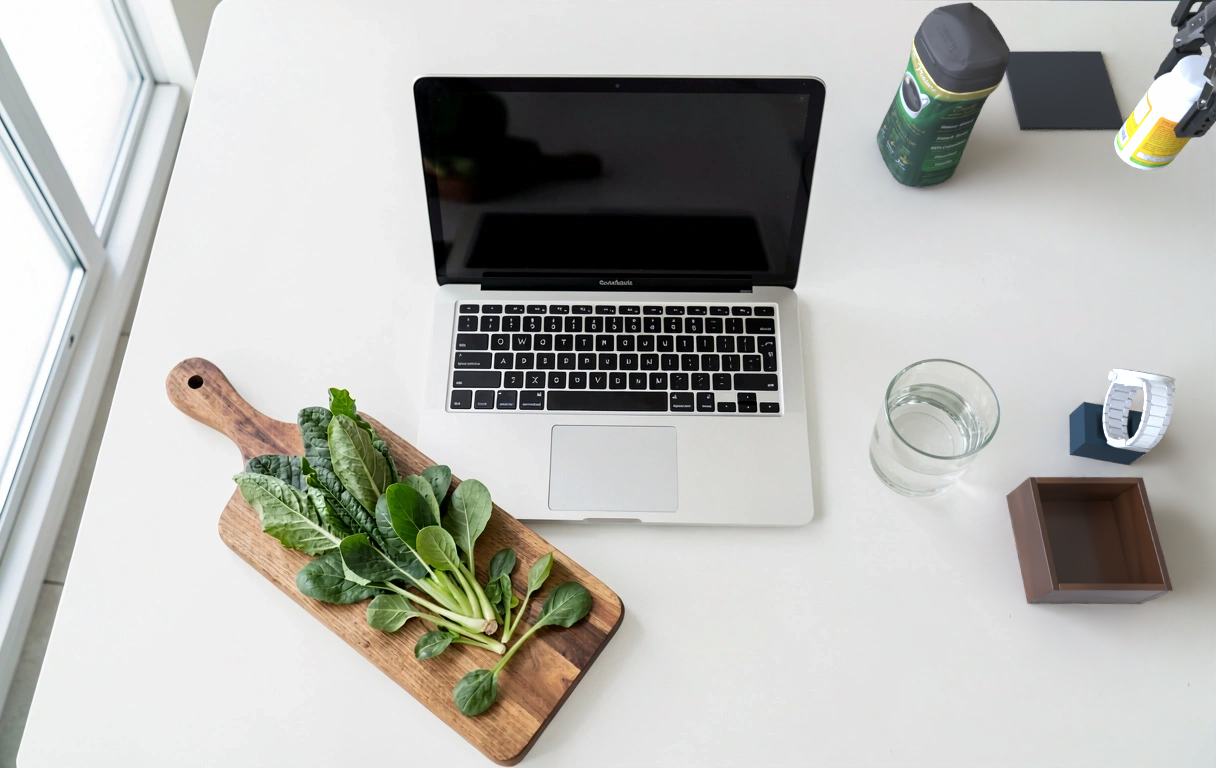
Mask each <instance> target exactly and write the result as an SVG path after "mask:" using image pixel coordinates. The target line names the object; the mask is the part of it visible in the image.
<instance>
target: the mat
mask: <svg viewBox="0 0 1216 768" xmlns="http://www.w3.org/2000/svg"><path fill="white" fill-rule="evenodd" d="M1005 75H1006V77H1007V78H1006V79H1007V81H1008V86H1009V90H1010V94H1011V99H1012V102H1013V106H1014V110H1015V113H1016V117H1017V122H1018V125H1019V126H1018V127H1019V130H1020V131H1021V130H1024V131H1025V130H1027V131H1029V130H1030V131H1031V130H1032V131H1033V130H1034V131H1035V130H1036V131H1037V130H1038V131H1039V130H1040V131H1041V130H1044V131H1045V130H1051V131H1052V130H1053V131H1054V130H1064V131H1065V130H1067V131H1068V130H1078V131H1079V130H1085V131H1087V130H1088V131H1089V130H1094V131H1095V130H1098V131H1099V130H1100V131H1101V130H1102V131H1103V130H1120V129H1121V128H1122V126H1123V125H1124V123H1125V122H1124V120H1123V117H1122V114H1121V111H1120V107H1119V105H1118V101H1117V98H1116V95H1115V91H1114V88H1113V85H1112V82H1111V79H1110V76H1109V73H1108V70H1107V66H1106V63H1105V60H1104V57H1103V54H1102V51H1101V50H1097V51H1096V50H1094V51H1093V50H1092V51H1091V50H1090V51H1087V50H1085V51H1084V50H1082V51H1081V50H1080V51H1079V50H1078V51H1077V50H1074V51H1072V50H1071V51H1070V50H1069V51H1067V50H1066V51H1065V50H1064V51H1062V50H1061V51H1059V50H1058V51H1051V50H1050V51H1045V50H1044V51H1043V50H1042V51H1040V50H1039V51H1037V50H1036V51H1035V50H1034V51H1031V50H1030V51H1026V50H1025V51H1023V50H1022V51H1019V50H1018V51H1016V50H1015V51H1010V60H1009V63H1008V65H1007V68H1006V71H1005Z"/></svg>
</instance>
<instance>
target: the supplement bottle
mask: <svg viewBox="0 0 1216 768" xmlns="http://www.w3.org/2000/svg"><path fill="white" fill-rule="evenodd" d="M1209 59H1210V56H1209V57H1208V56H1205V55H1190V56H1187V57H1184V58H1183V59H1181V60H1180V61H1179V62H1178V64H1177V65H1176V66H1175V68H1174V69H1173V70H1172V72H1169V73H1166V74H1164V75H1162V76H1160V77H1159V78H1158V79H1157V80H1156V81H1155V80H1154V82H1153V83H1152V84H1151V85H1150V87H1149V88H1148V90H1147V91H1146V93H1145V94H1144V95H1143V97H1142V98H1141V100H1140V101H1139V102H1138V104H1137V105H1136V106H1135V108H1134V110H1133V111H1132V112H1131V113H1130V115H1129V117H1128V118H1127V119H1126V120H1125V122H1123V123H1124V125H1123V126H1122V128H1121V129H1119V131H1118V132H1117V133H1116V135H1115V138H1114V149H1115V152H1116V153H1117V155H1118V157H1120V158H1121V160H1122V161H1123V162H1124V163H1126V164H1127V165H1129V166H1130V167H1133V168H1135V169H1139V170H1142V171H1151V172H1152V171H1158V170H1161V169H1165V168H1166V167H1168V166H1169V165H1170V164H1171V163H1172V162H1173V161H1174V160H1175V159H1176V158H1177V156H1178V155H1179V154H1180V153H1181V152H1182V151H1183V149H1184V148H1185V147H1186V145H1187V144H1188V143H1189V142H1190V141H1191V139H1192V138H1177V137H1176V135H1175V132H1174V128H1175V127H1176V125H1177V124H1178V123H1179V122H1180V120H1181V119H1182V118H1183V116H1184V115H1185V114H1186V113H1187V111H1188V110H1189V109H1190V108H1191V106H1192V105H1193V104H1194V103H1195V101H1198V99H1199V97H1200V94H1201V92H1202V90H1203V87H1204V85H1205V83H1206V79H1205V78H1204V77H1203V73H1204V71H1205V68H1206V66H1207V63H1208V61H1209Z"/></svg>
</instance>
